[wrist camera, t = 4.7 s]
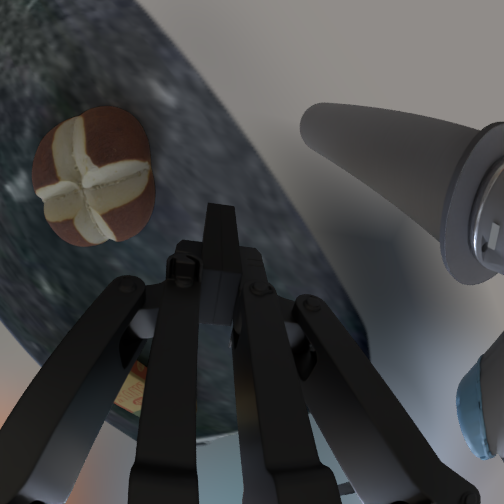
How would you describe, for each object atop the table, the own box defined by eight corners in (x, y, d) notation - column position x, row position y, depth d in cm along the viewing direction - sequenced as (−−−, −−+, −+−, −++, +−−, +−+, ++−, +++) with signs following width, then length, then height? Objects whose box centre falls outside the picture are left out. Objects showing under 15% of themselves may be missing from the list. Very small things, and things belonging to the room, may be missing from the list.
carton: (111, 329, 30) (103, 356, 26) (198, 390, 37) (199, 414, 34) (77, 353, 31) (69, 377, 27) (160, 406, 39) (159, 428, 35)
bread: (153, 98, 19) (138, 96, 14) (164, 230, 24) (155, 259, 20) (38, 123, 17) (6, 132, 13) (59, 239, 23) (36, 266, 18)
